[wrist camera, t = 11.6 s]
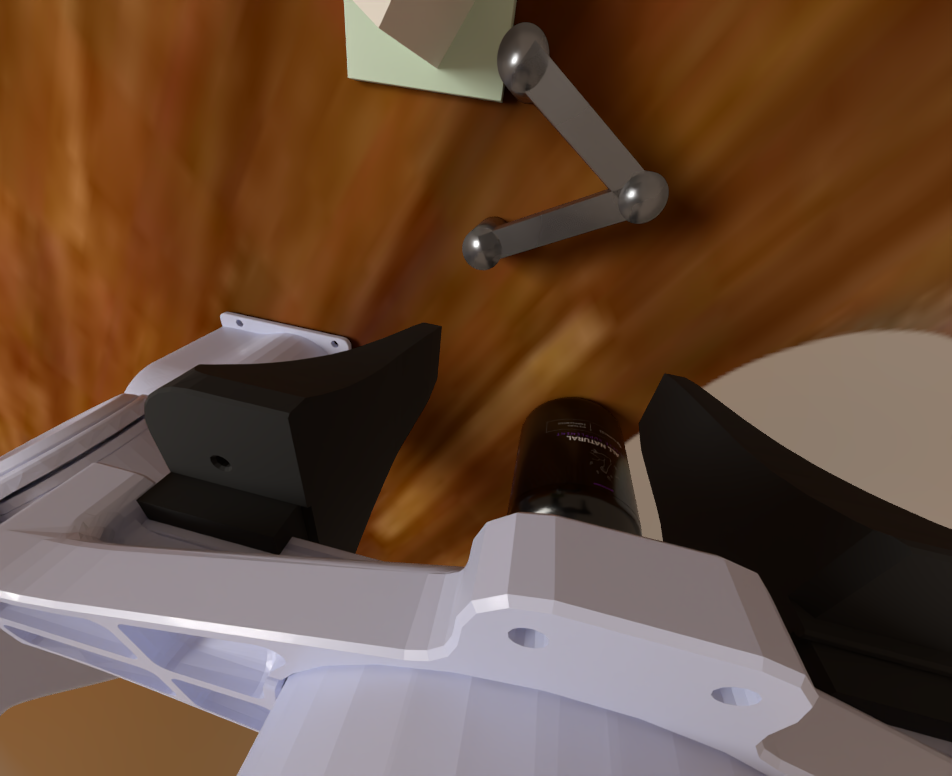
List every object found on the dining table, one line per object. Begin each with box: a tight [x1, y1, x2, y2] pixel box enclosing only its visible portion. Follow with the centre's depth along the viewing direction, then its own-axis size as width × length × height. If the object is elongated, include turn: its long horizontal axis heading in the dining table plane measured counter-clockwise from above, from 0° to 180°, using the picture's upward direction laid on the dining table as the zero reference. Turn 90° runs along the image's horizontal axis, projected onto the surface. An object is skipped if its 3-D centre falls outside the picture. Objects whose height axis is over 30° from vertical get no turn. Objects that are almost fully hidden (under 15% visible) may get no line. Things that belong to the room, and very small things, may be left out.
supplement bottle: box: [507, 398, 642, 536], centre depth 20 cm, size 7×7×12 cm
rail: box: [463, 22, 669, 270], centre depth 15 cm, size 8×8×4 cm
